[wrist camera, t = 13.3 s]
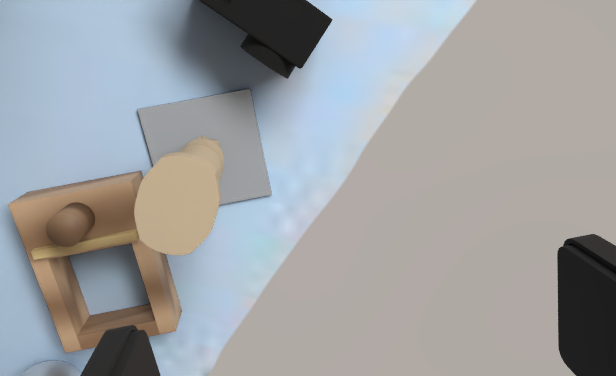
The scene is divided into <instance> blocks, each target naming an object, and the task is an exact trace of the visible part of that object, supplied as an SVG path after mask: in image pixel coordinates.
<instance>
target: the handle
mask: <svg viewBox="0 0 616 376" xmlns="http://www.w3.org/2000/svg"><path fill="white" fill-rule="evenodd" d="M223 167H224V155H223V152H222V150H221V148H220V143H219V141H217V140H216V139H215V140H211V139H208V138H206V136H200V137H198V139H195V140H193V141H191V142H189V143H188V144H186V145H185V146H184V147H183V148H182V149H181V150H180V151H179V152H175V153H169V154H166V155H164V156H163V157H162V158H161V159H160V160H159V161H158V162H157V163H156V164H155V165H154V166H153V167H152V168H151V170H150V171H149V172H148V173H147V174H146V175H145V177H144V178H143V180H142V182H141V184H140V187H139V190H138V194H137V198H136V202H135V208H134V216H135V222H136V226H137V230H138V234H139V238H140V240H141V241H142V242H143V243H144V244H146V245H147V246H148V247H150V248H152V249H154V250H156V251H158V252H161V253H164V254H170V255H185V254H189V253H192V252H193V251H194V250H195V249H196V248H197V247H198V246H199V245H200V244H201V243H202V242H203V241H204V240H205V239H206V237H207V236H208V235H209V233H210V232H211V230H212V227H213V225H214V221H215V218H216V215H217V211H218V208H219V205H220V201H221V195H220V187H219V181H220V178H221V175H222V172H223Z"/></svg>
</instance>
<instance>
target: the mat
mask: <svg viewBox="0 0 616 376" xmlns="http://www.w3.org/2000/svg"><path fill="white" fill-rule="evenodd" d="M138 113H139V117H140V121H141V124H142V128H143V131H144V135H145V138H146V142H147V145H148V149H149V153H150V156H151V160H152V163H153V166H154V165H155V164H156V163H157V162H158V161H159V160H160V159H161V158H162V157H163V156H164V155H166V154H169V153H175V152H179V151H180V150H181V149H182V148H183V147H184V146H185V145H186V144H188V143H189V142H191V141H193V140H195V139H198V137H200V136H206V138H208V139H211V140H215V139H216V140H217V141H219V143H220V148H221V150H222V152H223V155H224V167H223V172H222V175H221V178H220V181H219V187H220V195H221V201H220V205H221V204H226V203H231V202H236V201H242V200H247V199H252V198H257V197H263V196H268V195H272V193H271V188H270V183H269V178H268V174H267V169H266V164H265V159H264V154H263V149H262V145H261V140H260V135H259V130H258V125H257V120H256V115H255V111H254V106H253V101H252V96H251V91H250V89H245V90H240V91H234V92H229V93H223V94H218V95H212V96H207V97H201V98H196V99H190V100H185V101H180V102H174V103H169V104H163V105H158V106H152V107H147V108H141V109H138Z"/></svg>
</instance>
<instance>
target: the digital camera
mask: <svg viewBox="0 0 616 376" xmlns="http://www.w3.org/2000/svg"><path fill="white" fill-rule="evenodd" d="M200 1H201V2H203V3H204V4H205V5H207V6H208V7H210V8H211V9H213V10H214V11H216V12H217V13H219V14H220V15H222V16H223V17H225V18H226V19H227V20H229V21H230V22H232V23H233V24H235V25H236V26H238V27H239V28H241V29H242V30H244V31H245V32H247V33H248V35H247V37H246V39H245V40H244V42H243V43H242V45H241V48H242V49H244V50H245V51H246V52H248V53H249V54H250V55H252V56H253V57H255V58H256V59H258V60H259V61H261V62H262V63H264V64H265V65H267V66H268V67H270V68H271V69H273V70H274V71H276V72H277V73H279V74H280V75H282V76H284V77H285V78H287V79H288V77H289V76H290V74H291V72H292V71H293V69H294V68H295V66H296V67H298V68H302V67H303V65H304V64H305V62H306V61H307V59H308V58H309V56H310V54H311V53H312V51H313V50H314V48H315V47H316V45H317V44H318V42H319V40H320V39H321V37H322V36H323V34H324V33H325V31H326V29H327V28H328V26H329V25H330V23H331V22H332V19H331V18H330V17H328V16H327V15H326V14H324V13H323V12H321V11H320V10H319V9H317V8H316V7H315V6H313V5H312V4H311V3H309V2H308V1H306V0H200Z"/></svg>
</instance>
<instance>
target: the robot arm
mask: <svg viewBox="0 0 616 376" xmlns="http://www.w3.org/2000/svg"><path fill="white" fill-rule="evenodd" d="M558 333H559V351H560V355H561V357H562V359H563V361H564V363H565V364H566V365H567V366H568V367H569V368H570V369H571V371H572V372H573V373H574V374H575V375H576V376H616V246H615V245H613V244H611V243H610V242H608V241H606V240H605V239H603V238H601V237H599V236H597V235H595V234H590V235H586V236H580V237H575V238H570V239H567V240H566V241H565V243H564V245H563V247H560V248H559V250H558ZM80 376H160V373H159V370H158V367H157V363H156V360H155V357H154V354H153V351H152V348H151V345H150V342H149V339H148V336H147V333H146V332H145V330H138V329H137V328H136V326H134V325H129V326H124V327H119V328H114V329H109V330H106V331H105V333H104V334H103V336H102V338H101V340H100V341H99V343H98V345H97V347H96V348H95V350H94V352H93V354H92V356H91V357H90V359H89V361H88V363H87V365H86V366H85V368H84V370H83V372H82V373H81V375H80Z"/></svg>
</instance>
